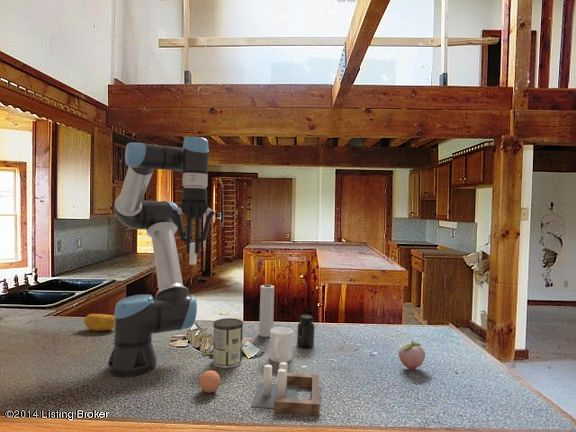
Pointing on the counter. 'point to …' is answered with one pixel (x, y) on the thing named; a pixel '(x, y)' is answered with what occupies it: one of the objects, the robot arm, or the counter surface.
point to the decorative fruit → (411, 355)
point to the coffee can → (227, 342)
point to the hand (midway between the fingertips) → (192, 263)
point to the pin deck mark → (268, 402)
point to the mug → (281, 344)
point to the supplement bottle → (305, 332)
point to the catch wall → (298, 404)
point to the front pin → (267, 380)
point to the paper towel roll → (266, 310)
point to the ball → (209, 381)
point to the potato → (99, 322)
